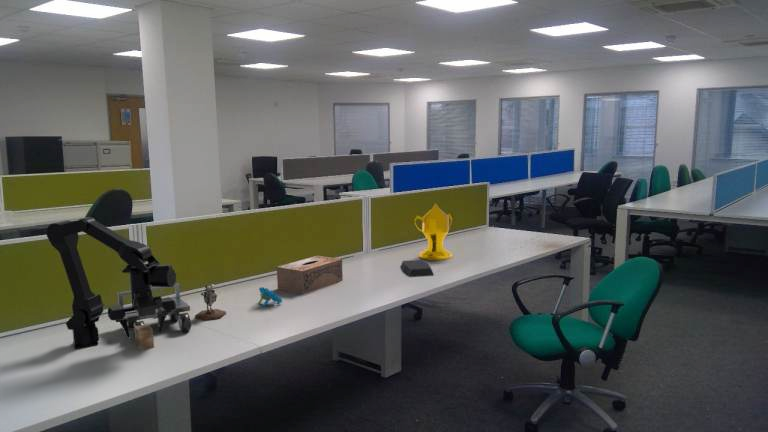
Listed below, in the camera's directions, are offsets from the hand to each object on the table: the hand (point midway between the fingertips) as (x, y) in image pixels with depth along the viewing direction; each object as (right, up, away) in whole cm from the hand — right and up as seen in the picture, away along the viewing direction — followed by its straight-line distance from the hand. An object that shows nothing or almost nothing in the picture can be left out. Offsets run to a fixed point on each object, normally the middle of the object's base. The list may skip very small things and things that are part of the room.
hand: (144, 335), depth 176 cm
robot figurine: (+12, +1, +29) cm, 31 cm away
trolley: (-2, -1, +15) cm, 15 cm away
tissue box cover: (+43, +7, +70) cm, 82 cm away
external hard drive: (+90, +10, +92) cm, 129 cm away
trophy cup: (+101, +16, +123) cm, 160 cm away
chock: (0, -4, +1) cm, 4 cm away
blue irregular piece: (+31, +3, +42) cm, 52 cm away
